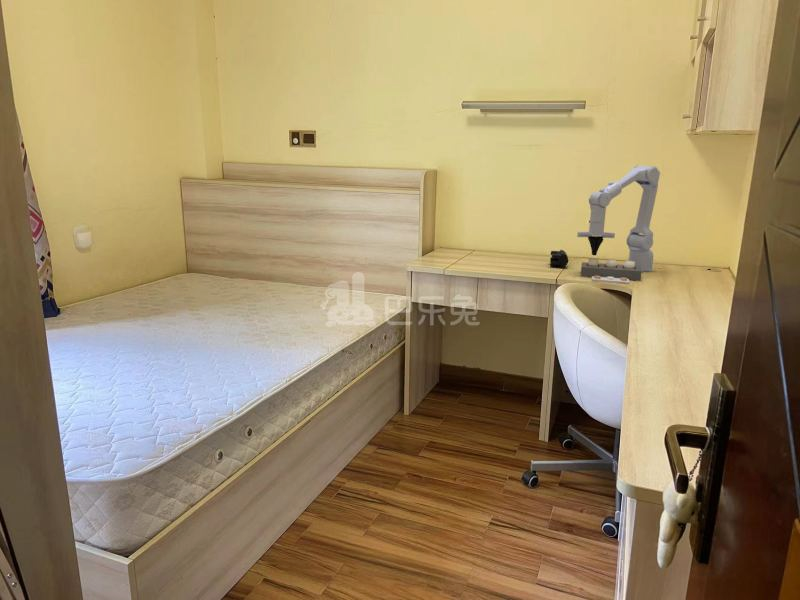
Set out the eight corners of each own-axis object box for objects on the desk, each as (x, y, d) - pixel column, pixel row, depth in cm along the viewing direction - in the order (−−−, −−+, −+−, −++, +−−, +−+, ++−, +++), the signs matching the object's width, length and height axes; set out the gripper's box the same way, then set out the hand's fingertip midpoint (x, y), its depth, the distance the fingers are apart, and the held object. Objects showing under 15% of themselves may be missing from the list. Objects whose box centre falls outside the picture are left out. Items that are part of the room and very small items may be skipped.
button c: (597, 268, 253) (598, 258, 252) (597, 270, 249) (598, 260, 248) (587, 267, 254) (588, 258, 253) (587, 269, 250) (588, 259, 249)
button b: (615, 269, 251) (616, 259, 250) (615, 271, 247) (616, 261, 246) (605, 268, 252) (606, 259, 251) (605, 270, 248) (606, 261, 247)
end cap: (567, 269, 263) (569, 253, 262) (550, 268, 265) (552, 253, 263) (566, 264, 273) (567, 249, 271) (549, 264, 274) (551, 249, 272)
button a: (633, 270, 249) (634, 261, 248) (634, 272, 245) (635, 262, 244) (623, 270, 250) (624, 260, 249) (623, 271, 246) (624, 262, 245)
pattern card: (628, 280, 242) (629, 277, 241) (629, 284, 236) (629, 280, 236) (591, 278, 246) (592, 274, 245) (591, 281, 240) (592, 277, 240)
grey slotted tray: (638, 275, 252) (640, 266, 251) (640, 281, 242) (641, 271, 241) (581, 271, 259) (582, 262, 258) (580, 276, 249) (581, 266, 248)
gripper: (613, 221, 250) (609, 253, 253) (577, 220, 251) (574, 252, 255) (617, 223, 243) (613, 256, 247) (580, 222, 244) (577, 255, 248)
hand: (594, 254), depth 250 cm, fingers closed
